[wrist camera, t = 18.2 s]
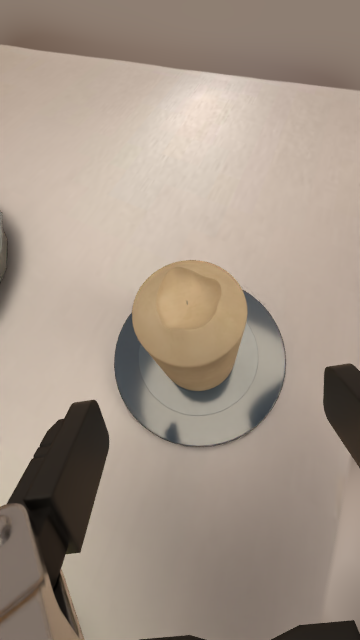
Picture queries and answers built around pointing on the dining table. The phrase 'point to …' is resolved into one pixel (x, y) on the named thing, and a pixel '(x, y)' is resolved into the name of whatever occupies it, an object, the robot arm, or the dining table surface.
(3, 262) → the pie
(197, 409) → the saucer
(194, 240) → the dining table surface
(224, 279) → the candle
